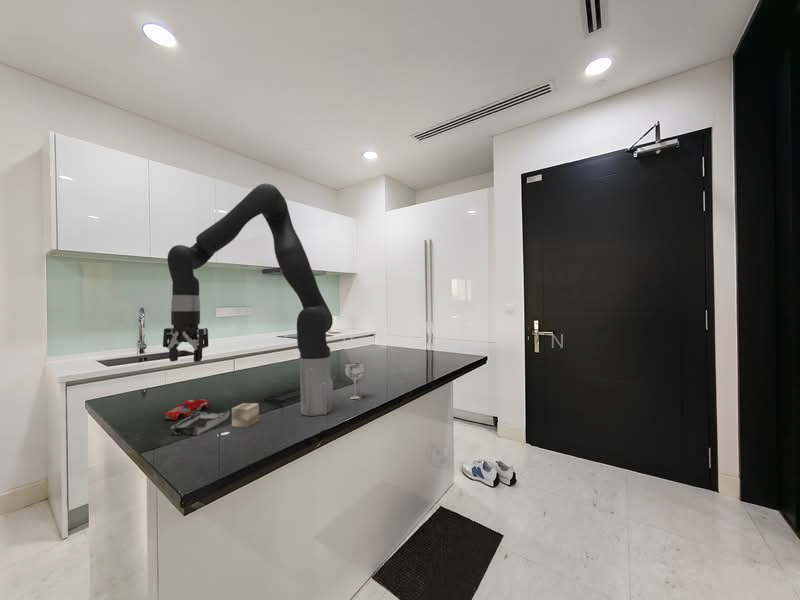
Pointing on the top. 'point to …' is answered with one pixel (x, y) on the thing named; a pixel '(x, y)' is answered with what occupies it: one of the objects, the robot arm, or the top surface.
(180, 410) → the race car
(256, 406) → the birch block
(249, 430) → the top surface
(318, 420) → the top surface
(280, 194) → the robot arm
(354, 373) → the wineglass
